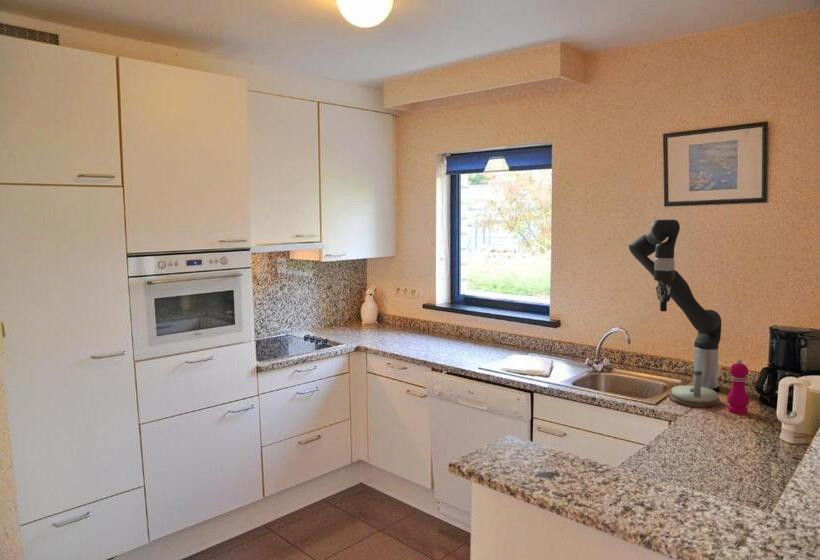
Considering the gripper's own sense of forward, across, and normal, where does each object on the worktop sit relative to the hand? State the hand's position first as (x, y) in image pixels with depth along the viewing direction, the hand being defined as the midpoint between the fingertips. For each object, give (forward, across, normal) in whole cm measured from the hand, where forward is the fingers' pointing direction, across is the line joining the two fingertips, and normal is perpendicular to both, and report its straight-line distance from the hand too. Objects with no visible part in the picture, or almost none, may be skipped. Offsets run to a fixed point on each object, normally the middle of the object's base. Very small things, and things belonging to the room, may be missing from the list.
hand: (663, 311), depth 238 cm
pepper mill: (+35, +21, +21) cm, 46 cm away
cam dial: (+33, +8, +10) cm, 36 cm away
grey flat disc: (+35, +8, +10) cm, 37 cm away
